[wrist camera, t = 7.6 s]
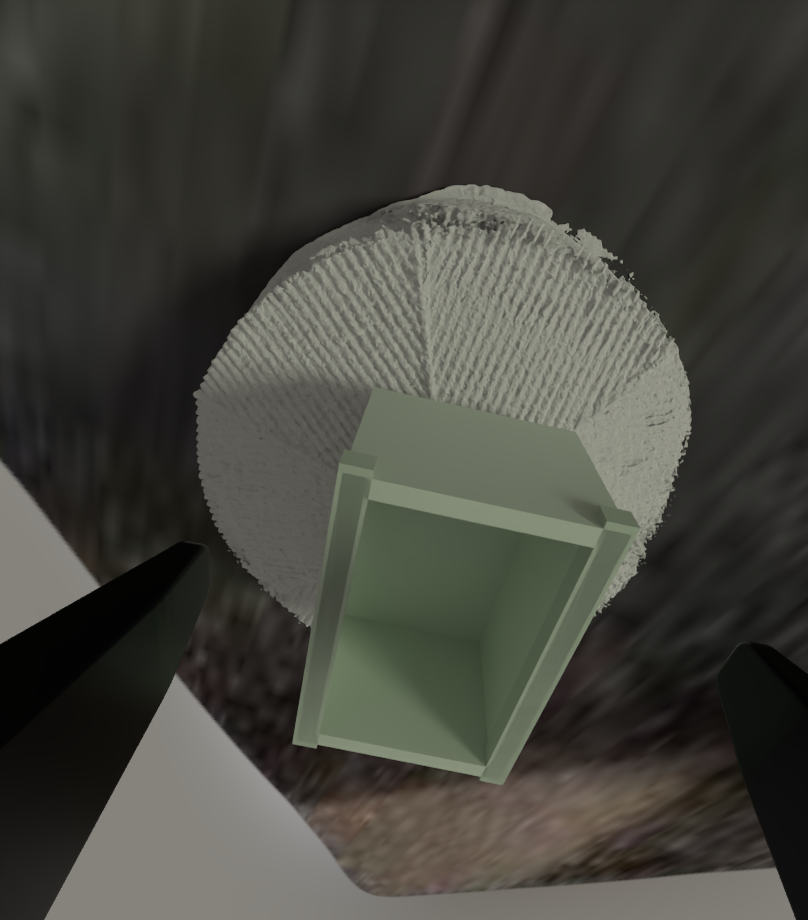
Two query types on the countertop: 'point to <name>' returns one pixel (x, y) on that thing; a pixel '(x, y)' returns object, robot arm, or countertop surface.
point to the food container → (432, 367)
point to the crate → (454, 584)
